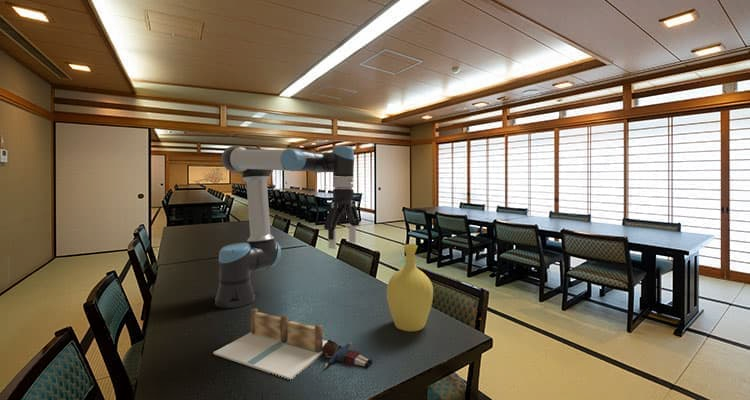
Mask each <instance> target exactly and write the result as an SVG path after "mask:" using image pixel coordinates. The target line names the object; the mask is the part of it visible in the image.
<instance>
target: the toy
mask: <svg viewBox="0 0 750 400" xmlns="http://www.w3.org/2000/svg"><path fill="white" fill-rule="evenodd" d="M326 341H327V343H325V344H324V346H323V348H322V353H323V354H322V355H323V356H324V357H325V358H330V359H329V360H328V361H327V362H326V363H325V365H324V368H327V367H328V366H329V365H331V364H333V363H335V362H337V361H338V362H342V363H346V364H348V365H351V366H355V365H357V366H362V367H365V368H366V369H369V367H370V366H372V364H373V359H370V358H366V357H365V356H363V355H361V352H359V351H356V350H354V349H353V350H352V349H349V347H350V346H351V345H352V342H349V343H347V344H345V345H344V346H342V345H339V344H338V343H337V342H335V341H334V340H332V339H327V340H326Z"/></svg>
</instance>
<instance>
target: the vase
mask: <svg viewBox="0 0 750 400" xmlns="http://www.w3.org/2000/svg"><path fill="white" fill-rule="evenodd" d="M418 247H419V246H418V245H417V244H413V243H412V244H411V243H407V244H403V249H404V252H405V263H404V264H405V265H404V266H403V267H402V268H401V269H399V270H397V271H396V272H395V273H393V275H392V276H391V277H390V279H389V281H388V284H387V287H386V299H387V304H388V309H389V311H390V315H391V318H392V321H393V323H394V326H395V327H396V328H397V329H399V330H401V331H404V332H418V331H421V330H423V329H424V328H425V326H426V323H427V321H428V318H429V315H430V312H431V309H432V305H433V299H434V287H433V284H432V281H431V280H430V278H429V277H428V276H427V275H426V273H424V272H423V271H422V270H420V269H419V268H418V267H417V266H416V261H415V260H416V259H415V256H416V252H417V249H418Z"/></svg>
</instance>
